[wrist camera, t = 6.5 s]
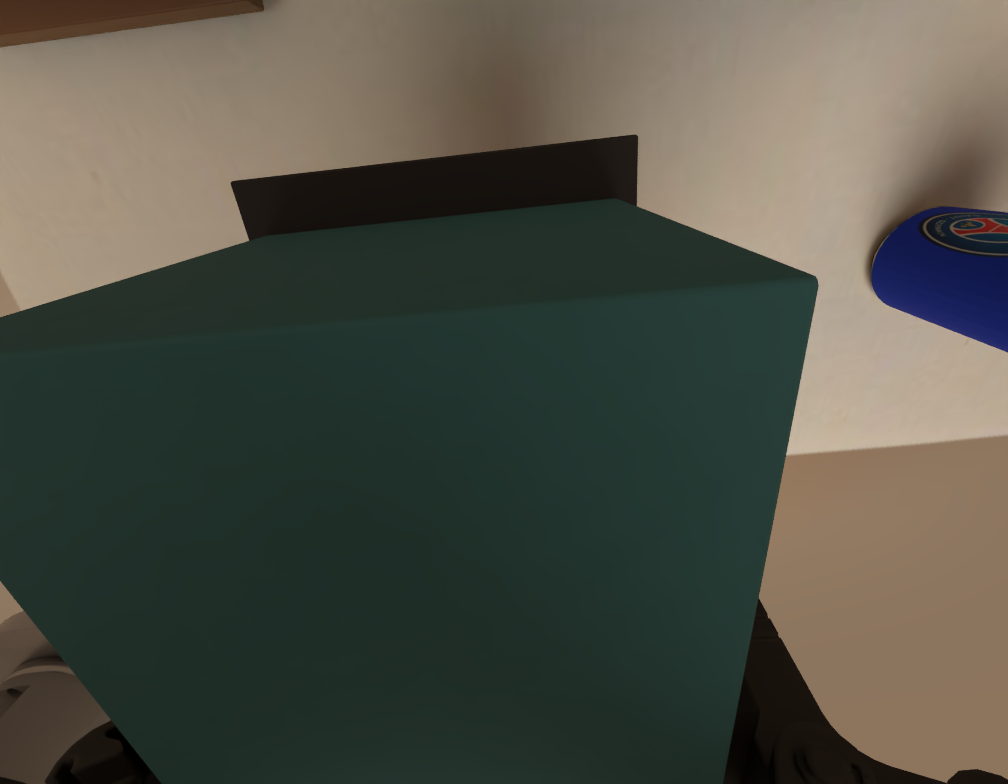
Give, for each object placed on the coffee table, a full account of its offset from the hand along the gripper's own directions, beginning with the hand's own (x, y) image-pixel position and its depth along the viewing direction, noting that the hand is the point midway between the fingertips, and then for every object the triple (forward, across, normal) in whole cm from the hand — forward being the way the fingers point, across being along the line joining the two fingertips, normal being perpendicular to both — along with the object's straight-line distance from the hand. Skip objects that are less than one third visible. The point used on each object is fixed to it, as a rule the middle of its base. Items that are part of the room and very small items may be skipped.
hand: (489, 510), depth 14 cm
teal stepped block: (0, 0, 0) cm, 0 cm away
